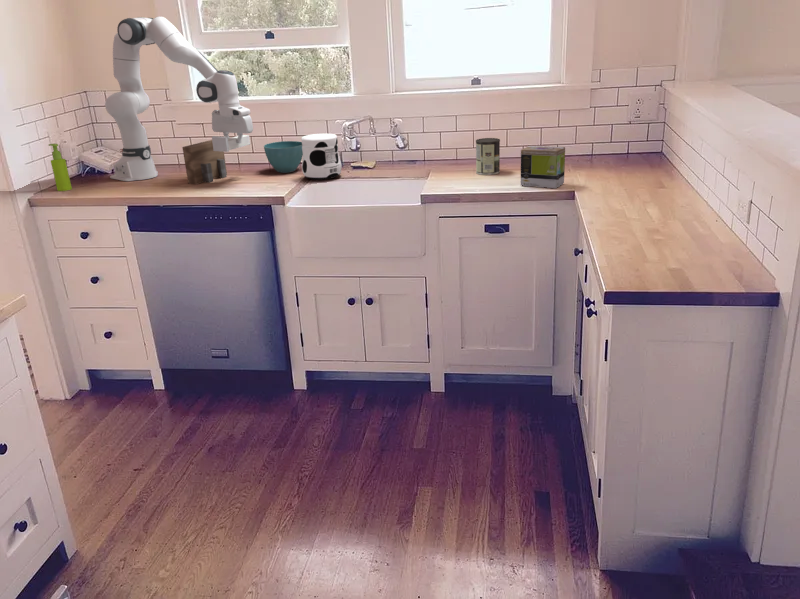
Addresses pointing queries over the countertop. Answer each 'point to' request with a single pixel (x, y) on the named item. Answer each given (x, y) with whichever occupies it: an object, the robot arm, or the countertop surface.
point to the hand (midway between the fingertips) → (234, 143)
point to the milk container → (320, 156)
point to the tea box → (542, 166)
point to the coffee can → (488, 156)
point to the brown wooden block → (203, 162)
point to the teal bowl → (284, 155)
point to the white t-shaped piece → (229, 143)
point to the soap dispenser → (60, 170)
